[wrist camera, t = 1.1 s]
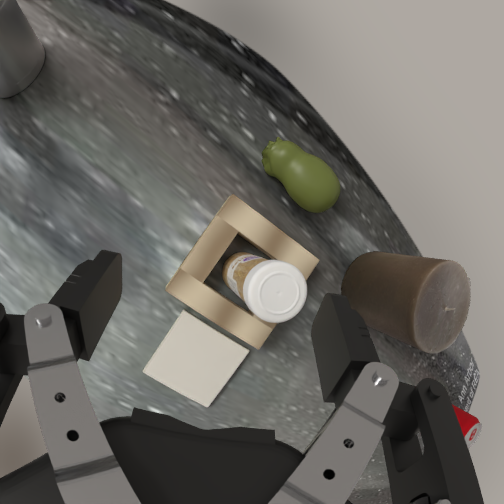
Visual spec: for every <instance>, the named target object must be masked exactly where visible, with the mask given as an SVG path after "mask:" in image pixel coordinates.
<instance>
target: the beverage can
mask: <svg viewBox="0 0 504 504" xmlns="http://www.w3.org/2000/svg"><path fill="white" fill-rule="evenodd" d="M452 406H453V408H454V411H455V413H456V416H457V419H458V421H459V424H460V427H461V430H462V432H463V435H464V438H465V441H466V444H467V447H468V448H470V447H471V446H472V445H473V443H474V442H475V441H476V439H477V438H478V436H479V434H480V432H481V429H482V424H481V423H480V422H479V421H478V419H477V418H476V417H474V416H472V415H471V414H469V413H467V412H465V411H463V410H462V409H460V408H458V407H456V406H454V405H452Z"/></svg>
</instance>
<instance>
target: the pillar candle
mask: <svg viewBox="0 0 504 504" xmlns="http://www.w3.org/2000/svg"><path fill="white" fill-rule="evenodd" d="M470 286H471V285H470V279H469V278H468V277H467V274H466V272H465V270H464V269H463V267H462V266H461V265H460V264H459V263H457V262H455V261H451V260H442V259H434V258H426V257H417V256H409V255H401V254H392V253H385V252H379V251H373V252H368V253H365V254H363V255H361V256H359V257H358V258H356V259H355V260H354V261H353V262H352V264H351V265H350V266H349V268H348V269H347V271H346V274H345V276H344V279H343V282H342V286H341V291H342V292H341V293H342V295H344V296H346V297H347V299H348V302H349V304H350V307H351V309H353V310H356V311H357V312H358V313H359V314H360V316H361V317H362V318H363V319H364V322H365V324H366V325H367V326H369V327H371V328H373V329H375V330H378V331H380V332H382V333H384V334H386V335H388V336H391V337H393V338H395V339H397V340H399V341H402V342H404V343H406V344H408V345H411V346H413V347H415V348H417V349H420V350H422V351H424V352H427V353H438V352H441V351H443V350H445V349H447V348H449V347H450V346H451V344H453V343H454V342H455V340H456V339H457V337H458V335H459V333H460V331H461V330H462V328H463V326H464V323H465V321H466V319H467V314H468V310H469V306H470Z"/></svg>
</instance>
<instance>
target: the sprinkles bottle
mask: <svg viewBox="0 0 504 504" xmlns="http://www.w3.org/2000/svg"><path fill="white" fill-rule="evenodd" d="M222 276H223V280H224V282H225V284H226V285H227V286H228V287H229V288H230V289H231V290H233V291H234V292H235V293H236V294H237V295H238V296H239V297H240V298H241V299H242V300H243V301H244V302H245V303H246V305H247V306H248V308H249V309H250V310H251V311H252V312H253V313H254V314H255V315H256V316H258V317H259V318H260V319H262V320H264V321H267V322H271V323H280V322H285V321H287V320H289V319H291V318H293V317H294V316H295V315H297V314H298V313H299V311H300V310H301V309H302V307H303V305H304V303H305V300H306V297H307V284H306V281H305V278H304V276H303V274H302V273H301V272H300V270H299V269H298V268H296V267H295V266H294V265H292V264H290V263H287V262H284V261H280V260H267V259H265V258H262V257H258V256H255V255H252V254H249V253H245V252H239V253H235V254H233V255H232V256H230V257H229V258H228V259H227V260H226V261H225V263H224V266H223V270H222Z"/></svg>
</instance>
